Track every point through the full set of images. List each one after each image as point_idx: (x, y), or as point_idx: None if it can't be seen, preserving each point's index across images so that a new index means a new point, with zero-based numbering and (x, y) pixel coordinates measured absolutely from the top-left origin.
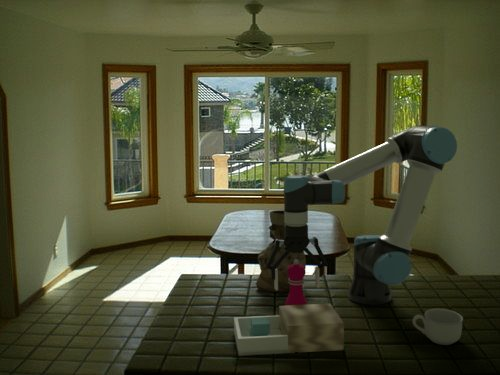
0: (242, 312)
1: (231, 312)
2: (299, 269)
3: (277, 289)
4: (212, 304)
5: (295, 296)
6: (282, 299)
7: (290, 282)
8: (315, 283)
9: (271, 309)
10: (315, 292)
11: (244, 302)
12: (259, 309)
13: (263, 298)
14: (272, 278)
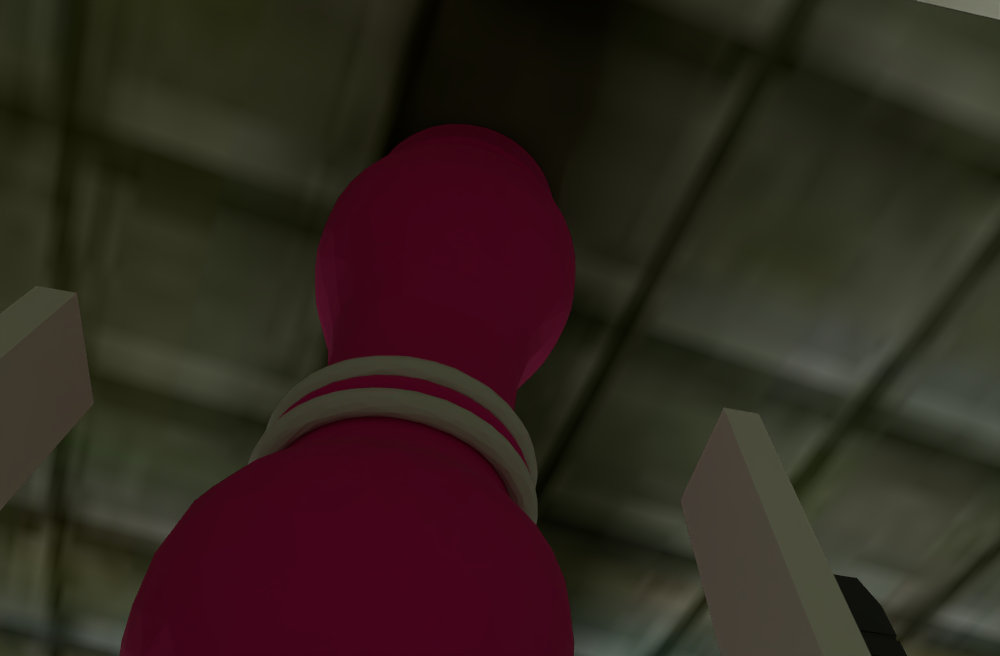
0: (833, 471)
1: (911, 494)
2: (288, 627)
3: (735, 418)
4: (940, 639)
5: (472, 273)
6: None
7: (524, 459)
8: (74, 421)
9: (586, 455)
10: None
11: None
12: (676, 481)
13: None
14: (867, 600)
